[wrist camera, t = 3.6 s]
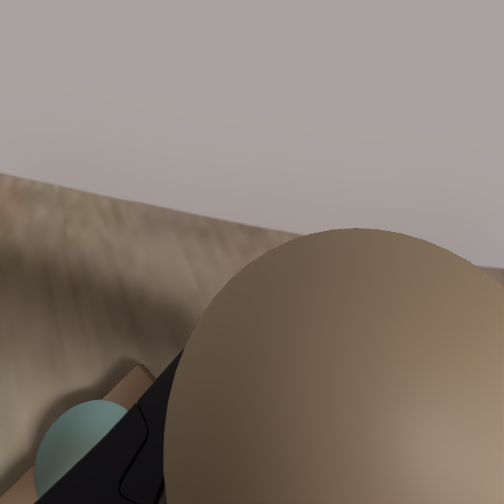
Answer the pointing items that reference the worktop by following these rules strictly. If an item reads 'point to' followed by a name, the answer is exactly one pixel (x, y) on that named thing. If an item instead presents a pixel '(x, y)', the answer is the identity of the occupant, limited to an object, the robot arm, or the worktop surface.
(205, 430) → the pin loose
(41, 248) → the worktop surface
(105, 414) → the board
